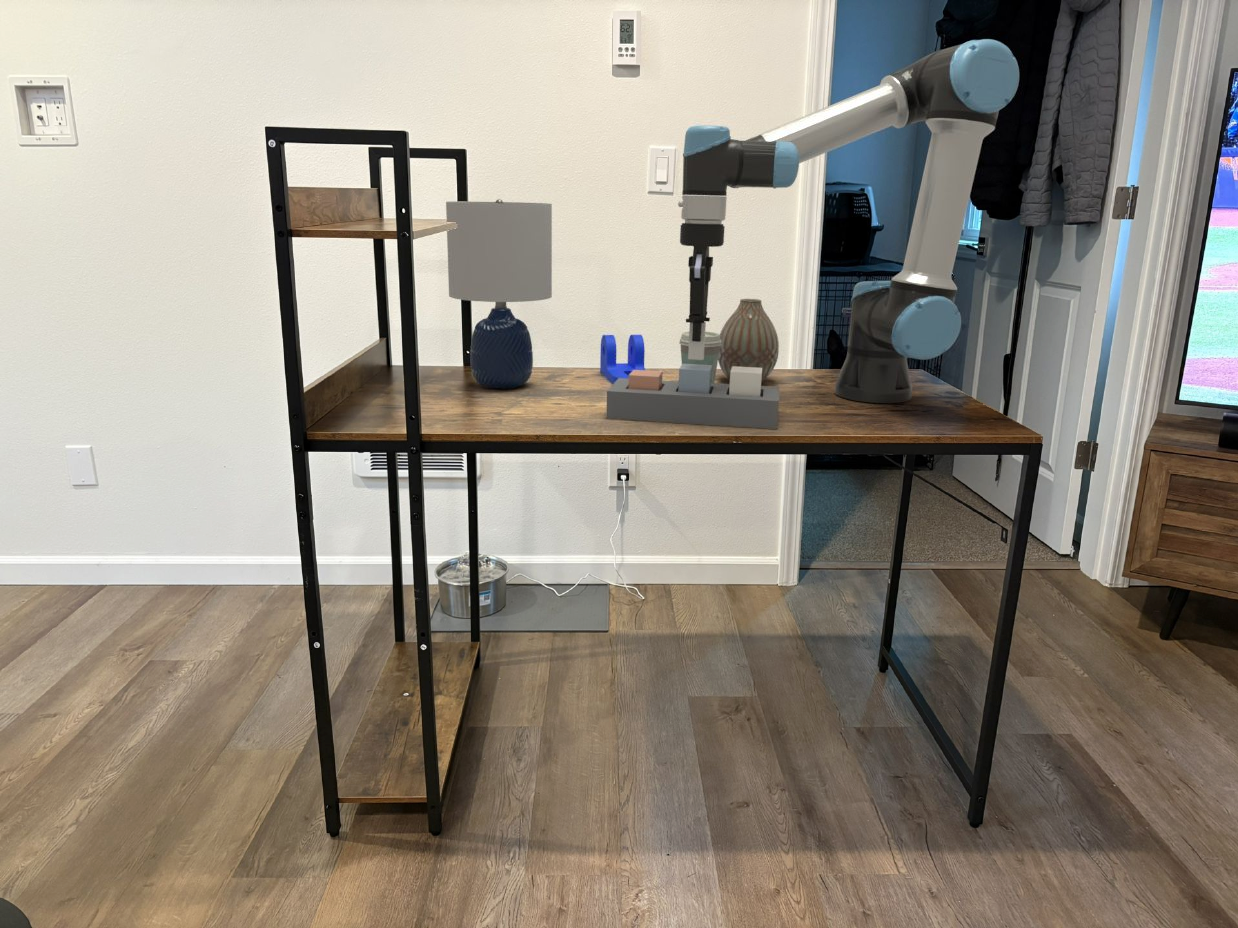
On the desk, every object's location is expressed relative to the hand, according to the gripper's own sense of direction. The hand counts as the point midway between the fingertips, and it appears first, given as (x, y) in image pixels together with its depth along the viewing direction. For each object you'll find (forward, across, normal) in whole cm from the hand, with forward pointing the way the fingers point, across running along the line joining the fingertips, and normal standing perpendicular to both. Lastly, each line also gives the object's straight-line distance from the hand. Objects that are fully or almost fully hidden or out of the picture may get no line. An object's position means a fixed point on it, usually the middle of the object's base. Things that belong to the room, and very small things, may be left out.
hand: (696, 358), depth 162 cm
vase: (+11, -35, +8) cm, 37 cm away
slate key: (+6, 0, 0) cm, 6 cm away
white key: (+6, 0, +9) cm, 11 cm away
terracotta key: (+8, 0, -9) cm, 12 cm away
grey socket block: (+11, 0, 0) cm, 11 cm away
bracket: (+11, -29, -17) cm, 36 cm away
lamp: (+11, -16, -41) cm, 45 cm away
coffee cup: (+11, -20, -1) cm, 23 cm away
